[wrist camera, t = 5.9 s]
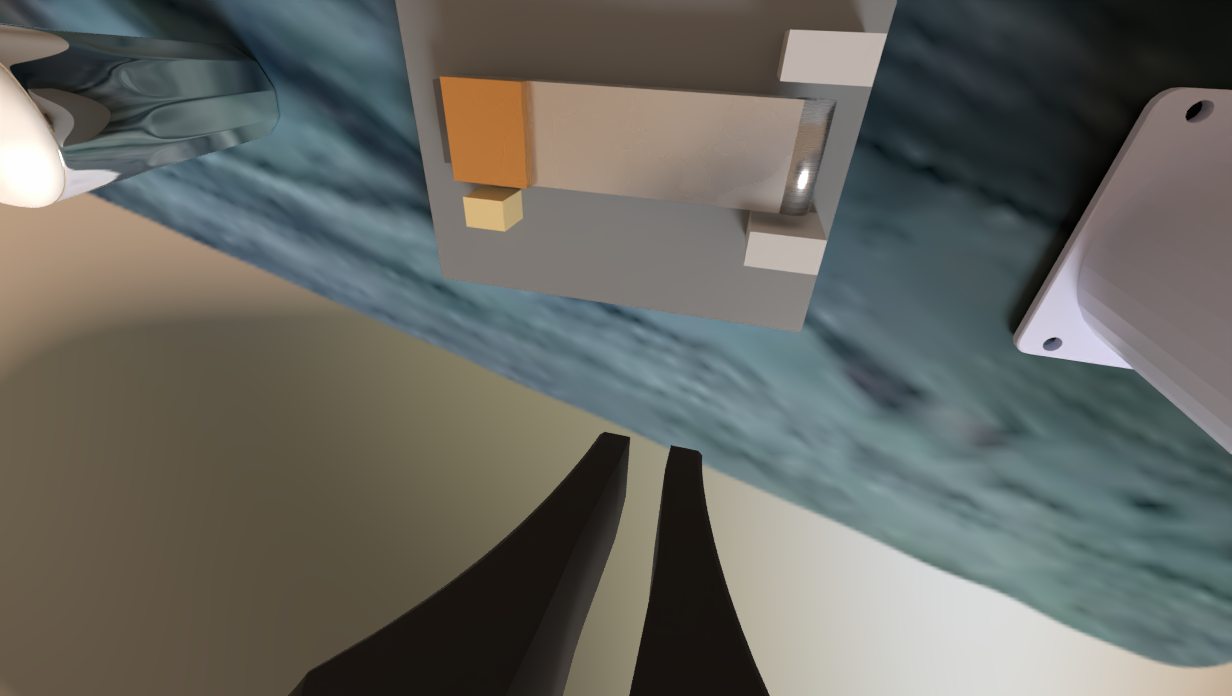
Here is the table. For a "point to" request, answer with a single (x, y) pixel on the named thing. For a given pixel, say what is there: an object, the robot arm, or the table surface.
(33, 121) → the milkshake
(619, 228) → the base board
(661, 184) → the latch bar
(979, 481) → the table surface
